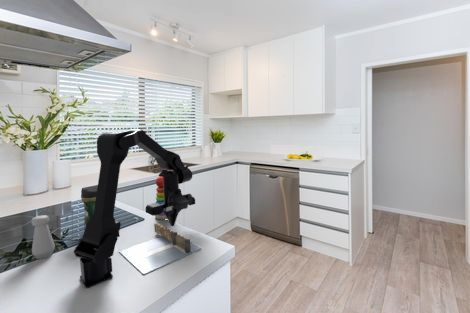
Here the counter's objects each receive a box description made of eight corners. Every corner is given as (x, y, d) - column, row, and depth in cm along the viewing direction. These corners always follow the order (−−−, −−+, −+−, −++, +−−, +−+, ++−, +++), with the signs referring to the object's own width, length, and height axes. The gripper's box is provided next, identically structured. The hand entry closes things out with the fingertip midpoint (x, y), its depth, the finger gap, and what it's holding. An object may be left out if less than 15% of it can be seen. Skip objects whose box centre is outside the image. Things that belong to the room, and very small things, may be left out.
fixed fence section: (187, 254, 78) (186, 242, 77) (171, 244, 84) (171, 233, 84) (191, 252, 79) (191, 240, 79) (176, 243, 86) (175, 231, 85)
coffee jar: (107, 225, 102) (104, 181, 99) (116, 230, 97) (112, 184, 94) (81, 233, 94) (77, 186, 92) (89, 239, 89) (85, 189, 87)
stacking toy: (166, 212, 117) (164, 174, 114) (176, 216, 112) (175, 176, 109) (151, 217, 111) (149, 176, 108) (161, 221, 106) (160, 179, 103)
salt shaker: (36, 253, 79) (32, 214, 78) (57, 249, 82) (53, 212, 80) (29, 262, 74) (24, 221, 73) (52, 258, 76) (48, 218, 75)
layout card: (143, 275, 67) (143, 273, 67) (118, 252, 80) (118, 251, 80) (201, 249, 81) (201, 247, 81) (172, 232, 94) (172, 232, 94)
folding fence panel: (174, 240, 86) (173, 231, 85) (171, 241, 85) (170, 233, 85) (157, 230, 94) (157, 222, 94) (154, 231, 93) (154, 223, 93)
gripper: (159, 195, 81) (161, 240, 82) (203, 185, 94) (204, 224, 96) (143, 189, 88) (145, 231, 90) (186, 181, 102) (187, 217, 103)
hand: (172, 225), depth 95 cm, fingers closed
